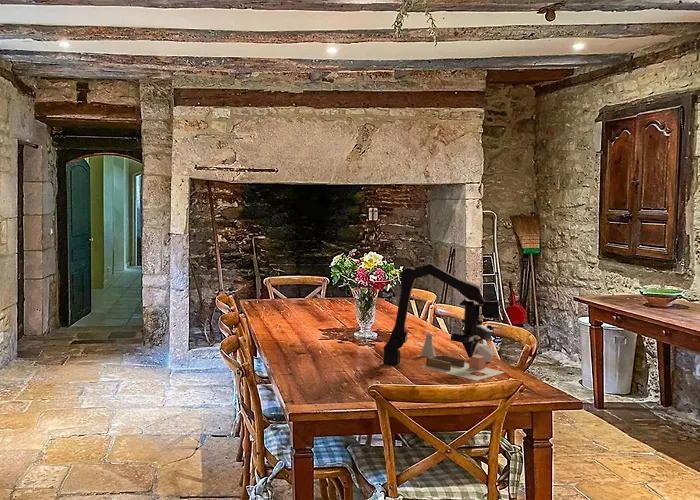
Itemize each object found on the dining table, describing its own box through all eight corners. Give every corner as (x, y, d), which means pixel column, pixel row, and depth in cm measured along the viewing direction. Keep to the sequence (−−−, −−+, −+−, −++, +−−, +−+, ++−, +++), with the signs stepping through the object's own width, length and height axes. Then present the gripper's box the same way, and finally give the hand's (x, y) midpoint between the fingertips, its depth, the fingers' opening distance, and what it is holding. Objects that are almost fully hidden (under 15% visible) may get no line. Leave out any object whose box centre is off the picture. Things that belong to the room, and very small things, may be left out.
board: (476, 383, 253) (476, 380, 253) (420, 369, 271) (420, 366, 271) (505, 375, 266) (505, 372, 266) (450, 362, 285) (450, 359, 285)
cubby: (448, 370, 266) (449, 363, 266) (426, 365, 274) (426, 357, 274) (464, 366, 273) (464, 359, 273) (441, 361, 281) (442, 354, 281)
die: (469, 361, 290) (466, 346, 284) (485, 350, 292) (482, 335, 286) (482, 373, 283) (478, 357, 278) (498, 361, 286) (495, 345, 280)
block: (478, 369, 269) (479, 358, 268) (469, 367, 272) (469, 356, 272) (485, 368, 272) (485, 356, 272) (475, 365, 275) (476, 354, 275)
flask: (438, 356, 295) (438, 333, 294) (435, 360, 288) (436, 336, 287) (421, 355, 297) (421, 332, 296) (418, 359, 290) (418, 335, 289)
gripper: (475, 322, 256) (473, 364, 257) (503, 317, 269) (501, 357, 270) (450, 318, 264) (449, 359, 265) (479, 313, 277) (477, 352, 278)
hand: (470, 357), depth 269 cm, fingers closed
